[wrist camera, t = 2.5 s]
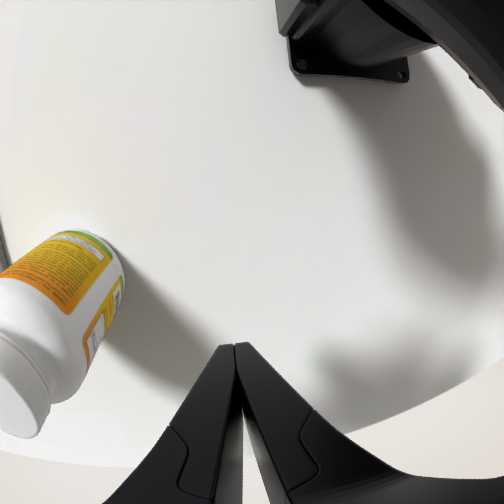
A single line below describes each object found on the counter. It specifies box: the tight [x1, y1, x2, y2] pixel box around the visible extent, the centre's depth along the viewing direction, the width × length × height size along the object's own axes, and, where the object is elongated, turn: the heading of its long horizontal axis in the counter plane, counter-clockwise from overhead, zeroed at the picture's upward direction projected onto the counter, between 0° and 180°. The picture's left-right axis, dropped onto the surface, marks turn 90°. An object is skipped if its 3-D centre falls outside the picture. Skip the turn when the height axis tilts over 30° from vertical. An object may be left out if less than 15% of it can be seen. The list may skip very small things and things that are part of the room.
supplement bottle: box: [0, 229, 125, 439], centre depth 10 cm, size 5×5×10 cm
